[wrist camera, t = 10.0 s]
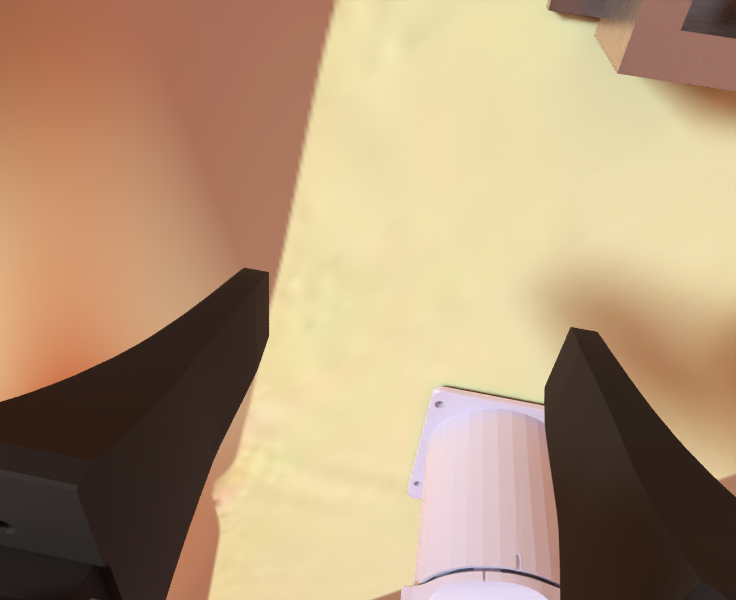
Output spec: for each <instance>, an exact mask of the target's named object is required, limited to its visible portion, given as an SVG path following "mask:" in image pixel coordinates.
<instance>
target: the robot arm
mask: <svg viewBox="0 0 736 600" xmlns="http://www.w3.org/2000/svg"><path fill="white" fill-rule="evenodd" d="M268 337H269V272H265V271H259V270H254V269H248V268H243V269H242V270H240V271H239V272H238V273H236V274H235V275H234V276H233V277H231V278H230V279H229V280H228V281H226V282H225V283H224V284H223V285H221V286H220V287H219V288H218V289H216V290H215V291H214V292H213V293H211V294H210V295H209V296H208V297H206V298H205V299H204V300H202V301H201V302H200V303H198V304H197V305H196V306H194V307H193V308H192V309H190V310H189V311H188V312H186V313H185V314H184V315H183V316H181V317H179V318H178V319H176V320H175V321H173V322H172V323H171V324H169V325H167V326H166V327H165V328H163V329H162V330H160V331H159V332H157V333H156V334H154V335H152V336H151V337H149V338H148V339H146V340H144V341H143V342H141V343H139V344H138V345H136V346H134V347H132V348H130V349H129V350H127V351H125V352H123V353H121V354H119V355H118V356H115V357H114V358H111V359H109V360H107V361H105V362H103V363H101V364H98V365H96V366H94V367H92V368H90V369H88V370H86V371H83V372H81V373H79V374H77V375H75V376H72V377H70V378H67V379H65V380H62V381H60V382H57V383H55V384H52V385H50V386H47V387H44V388H41V389H39V390H36V391H33V392H30V393H27V394H24V395H21V396H18V397H15V398H12V399H9V400H6V401H2V402H0V600H166V597H167V594H168V591H169V588H170V584H171V581H172V578H173V575H174V572H175V569H176V566H177V563H178V560H179V557H180V554H181V551H182V548H183V545H184V541H185V539H186V535H187V532H188V530H189V527H190V524H191V521H192V518H193V515H194V513H195V510H196V507H197V504H198V501H199V498H200V496H201V493H202V490H203V488H204V485H205V482H206V479H207V476H208V474H209V471H210V469H211V466H212V463H213V460H214V458H215V456H216V454H217V451H218V449H219V447H220V445H221V443H222V441H223V439H224V437H225V435H226V433H227V431H228V429H229V427H230V425H231V423H232V421H233V418H234V416H235V414H236V412H237V411H238V409H239V407H240V405H241V403H242V401H243V399H244V397H245V395H246V392H247V390H248V388H249V386H250V384H251V382H252V380H253V378H254V376H255V374H256V372H257V370H258V367H259V364H260V361H261V358H262V355H263V352H264V349H265V346H266V343H267V340H268ZM438 401H441V402H442V403H439V402H438ZM407 494H408V495H409V496H410V497H412V498H416V499H421V500H422V506H421V516H420V527H419V537H418V547H417V558H416V568H415V578H414V586H404V587H402V592H401V600H736V497H735V496H734V495H733V494H732V493H730V492H729V491H728V490H727V489H726V488H725V487H724V486H723V485H722V484H721V483H720V482H719V481H718V480H717V479H716V478H714V477H713V476H712V475H711V474H710V473H709V472H708V471H707V470H706V469H705V468H704V467H703V465H702V464H701V463H700V462H699V461H698V460H697V459H696V458H695V457H694V456H693V455H692V454H691V453H690V452H689V451H688V450H687V449H686V448H685V447H684V446H683V444H682V443H681V442H680V441H679V440H678V439H677V438H676V437H675V435H674V434H673V433H672V432H671V431H670V429H669V428H668V427H667V426H666V425H665V423H664V422H663V421H662V420H661V419H660V417H659V416H658V415H657V414H656V413H655V411H654V410H653V409H652V407H651V406H650V405H649V404H648V402H647V401H646V400H645V398H644V397H643V396H642V394H641V393H640V392H639V390H638V389H637V388H636V386H635V385H634V384H633V382H632V381H631V379H630V378H629V377H628V375H627V374H626V372H625V371H624V370H623V368H622V367H621V365H620V364H619V362H618V361H617V359H616V358H615V357H614V355H613V354H612V352H611V351H610V349H609V348H608V346H607V345H606V343H605V342H604V341H603V339H602V338H601V336H600V335H599V334H598V332H595V331H589V330H584V329H578V328H573V327H571V328H570V330H569V332H568V335H567V337H566V339H565V342H564V344H563V346H562V348H561V351H560V353H559V355H558V358H557V360H556V362H555V365H554V367H553V369H552V372H551V374H550V376H549V379H548V381H547V383H546V385H545V396H544V406H543V405H538V404H533V403H528V402H522V401H517V400H512V399H507V398H501V397H496V396H491V395H486V394H480V393H475V392H470V391H465V390H459V389H454V388H449V387H443V386H440V387H436V388H435V389H433V391H432V395H431V399H430V403H429V406H428V410H427V414H426V418H425V422H424V426H423V430H422V434H421V438H420V442H419V445H418V449H417V453H416V457H415V461H414V465H413V469H412V473H411V477H410V480H409V484H408V490H407Z"/></svg>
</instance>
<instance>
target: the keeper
mask: <svg viewBox="0 0 736 600" xmlns="http://www.w3.org/2000/svg"><path fill="white" fill-rule="evenodd" d="M605 1H606V0H548V3H547V8H548V10H550V11H557V12H563V13H570V14H577V15H584V16H590V17H597V18H600V16H601V13H602V10H603V7H604V4H605ZM691 5H694V6H701V7H708V8H715V9H721V10H728V11H734V9H735V7H736V0H693V1H692V3H691Z"/></svg>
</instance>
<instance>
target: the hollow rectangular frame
mask: <svg viewBox="0 0 736 600" xmlns="http://www.w3.org/2000/svg"><path fill="white" fill-rule="evenodd" d="M692 1H693V0H606V1H605V4H604V7H603V10H602V13H601V16H600V20H599V23H598V26H597V29H596V32H595V35H594V36H595V37H596V39H597V41H598V42H599V44H600V46H601V47H602V49H603V51H604V52H605V54H606V56H607V57H608V59H609V61H610V62H611V64H612V66H613V67H614V69H615V71H616V72H617V73H618V74H625V75H631V76H638V77H644V78H651V79H657V80H664V81H670V82H677V83H683V84H690V85H696V86H703V87H709V88H716V89H723V90H729V91H736V7H735V9H734V11H728V10H721V9H715V8H708V7H701V6H694V5H691V3H692Z"/></svg>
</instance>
